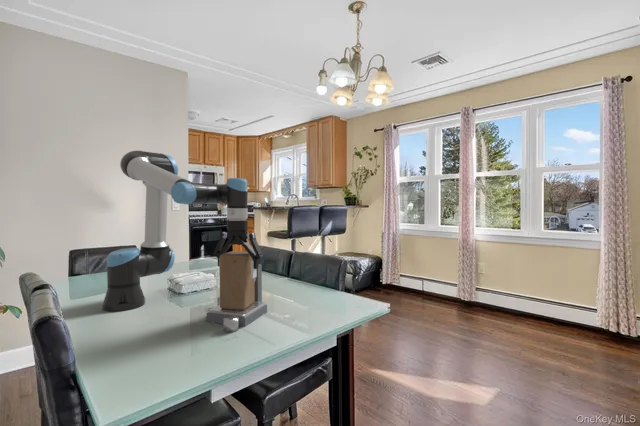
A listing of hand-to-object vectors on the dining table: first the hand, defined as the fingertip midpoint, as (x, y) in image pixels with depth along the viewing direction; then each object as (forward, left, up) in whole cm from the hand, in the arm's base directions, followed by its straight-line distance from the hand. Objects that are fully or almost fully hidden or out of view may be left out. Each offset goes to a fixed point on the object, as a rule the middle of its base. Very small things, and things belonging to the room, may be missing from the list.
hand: (237, 276), depth 123 cm
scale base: (0, +2, -15) cm, 15 cm away
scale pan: (0, 0, -15) cm, 15 cm away
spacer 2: (+5, -12, -15) cm, 20 cm away
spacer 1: (-12, +8, -15) cm, 21 cm away
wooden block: (0, 0, -11) cm, 11 cm away
